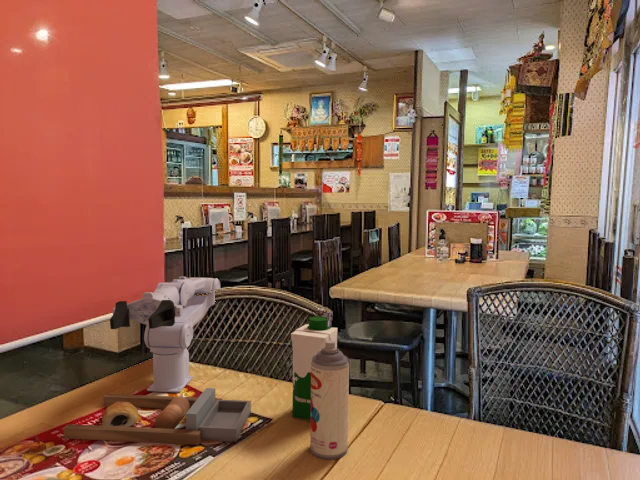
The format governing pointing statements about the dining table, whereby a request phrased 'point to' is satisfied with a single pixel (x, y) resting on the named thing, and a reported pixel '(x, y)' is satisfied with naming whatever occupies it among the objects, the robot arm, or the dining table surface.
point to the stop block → (200, 409)
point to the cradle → (225, 420)
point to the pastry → (120, 415)
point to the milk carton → (307, 360)
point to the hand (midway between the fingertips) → (131, 324)
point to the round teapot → (37, 447)
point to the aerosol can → (329, 403)
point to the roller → (172, 413)
